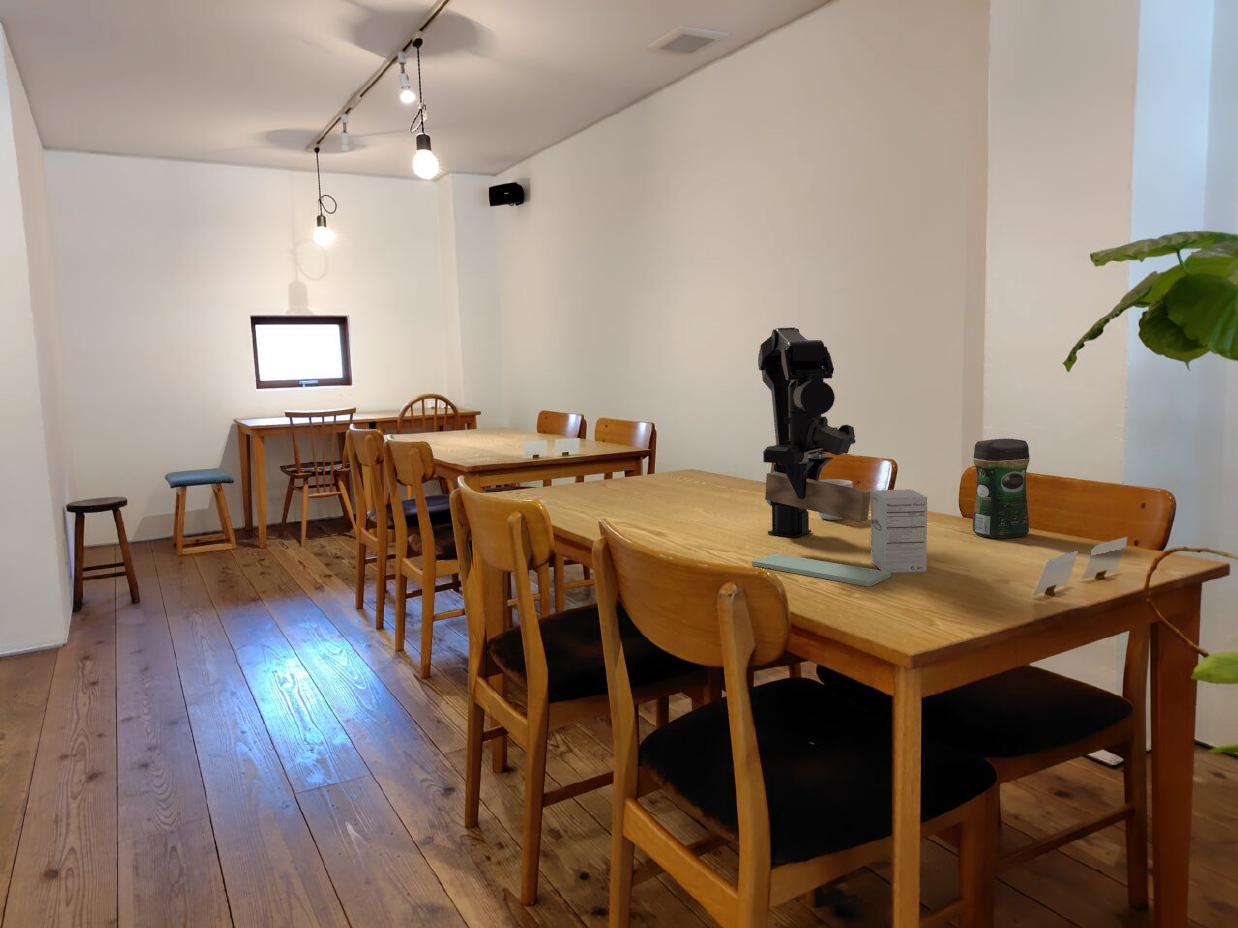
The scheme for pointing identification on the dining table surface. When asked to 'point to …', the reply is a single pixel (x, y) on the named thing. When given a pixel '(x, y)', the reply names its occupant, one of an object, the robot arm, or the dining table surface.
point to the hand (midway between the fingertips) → (805, 497)
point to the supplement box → (899, 530)
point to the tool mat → (823, 569)
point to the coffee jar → (1001, 488)
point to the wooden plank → (820, 497)
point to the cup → (838, 482)
